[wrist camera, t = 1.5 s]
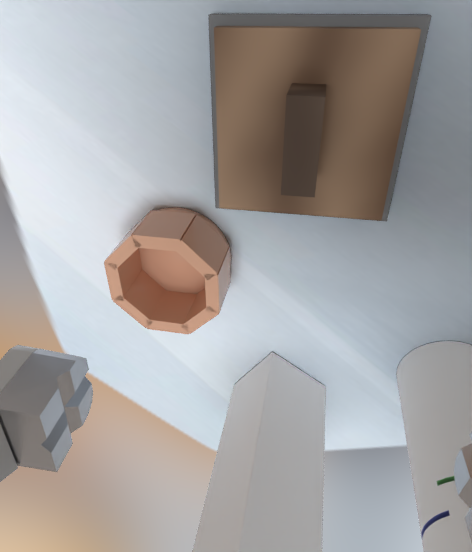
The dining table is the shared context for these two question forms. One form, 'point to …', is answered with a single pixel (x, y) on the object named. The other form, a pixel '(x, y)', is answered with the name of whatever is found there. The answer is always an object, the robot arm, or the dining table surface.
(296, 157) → the lid
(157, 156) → the dining table surface
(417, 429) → the cylindrical container
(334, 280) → the dining table surface
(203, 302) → the bowl
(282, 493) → the milk
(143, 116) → the dining table surface
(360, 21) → the mat
